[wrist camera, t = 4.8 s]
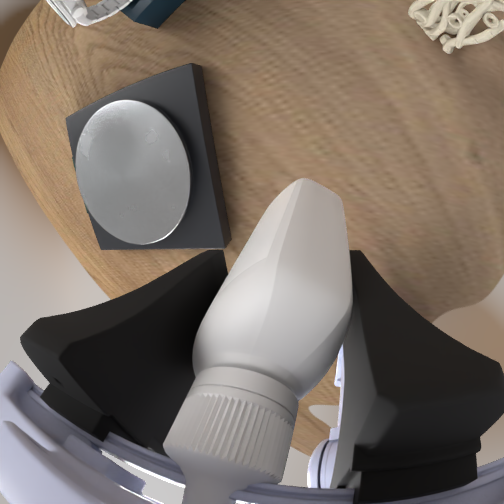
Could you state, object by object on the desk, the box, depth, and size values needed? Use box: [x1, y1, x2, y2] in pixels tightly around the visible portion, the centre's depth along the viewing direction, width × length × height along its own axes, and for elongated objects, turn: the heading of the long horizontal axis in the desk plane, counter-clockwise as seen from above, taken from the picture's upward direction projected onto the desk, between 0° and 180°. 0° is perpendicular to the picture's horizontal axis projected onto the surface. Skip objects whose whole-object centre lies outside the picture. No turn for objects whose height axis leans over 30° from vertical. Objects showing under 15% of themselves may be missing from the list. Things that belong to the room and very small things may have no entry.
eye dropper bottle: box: [163, 178, 353, 504], centre depth 8 cm, size 4×6×12 cm
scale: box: [66, 63, 231, 250], centre depth 20 cm, size 14×14×2 cm
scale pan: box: [75, 100, 193, 244], centre depth 19 cm, size 12×12×1 cm
